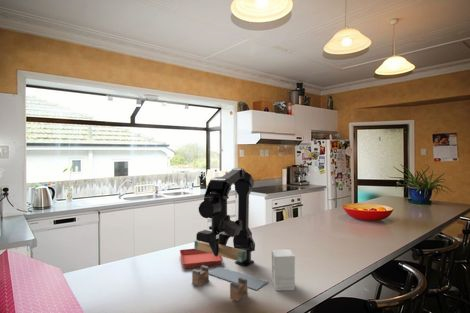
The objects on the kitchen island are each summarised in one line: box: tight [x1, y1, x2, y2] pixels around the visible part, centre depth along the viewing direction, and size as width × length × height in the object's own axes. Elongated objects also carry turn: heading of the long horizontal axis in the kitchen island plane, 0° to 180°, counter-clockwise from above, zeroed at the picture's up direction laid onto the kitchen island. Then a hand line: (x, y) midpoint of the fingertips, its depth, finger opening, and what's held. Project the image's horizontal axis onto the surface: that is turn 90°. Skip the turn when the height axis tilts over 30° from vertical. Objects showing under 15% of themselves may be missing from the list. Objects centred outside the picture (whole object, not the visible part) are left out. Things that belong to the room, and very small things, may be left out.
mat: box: [209, 266, 268, 291], centre depth 109 cm, size 8×24×1 cm, turn 54°
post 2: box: [229, 277, 248, 302], centre depth 95 cm, size 6×3×5 cm, turn 144°
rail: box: [193, 239, 247, 262], centre depth 100 cm, size 3×22×3 cm, turn 54°
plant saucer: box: [179, 248, 224, 269], centre depth 127 cm, size 18×18×3 cm
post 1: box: [191, 265, 210, 287], centre depth 106 cm, size 6×3×5 cm, turn 144°
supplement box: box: [271, 249, 296, 292], centre depth 103 cm, size 7×7×13 cm
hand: (219, 254), depth 100 cm, fingers closed on rail, 3 cm apart
